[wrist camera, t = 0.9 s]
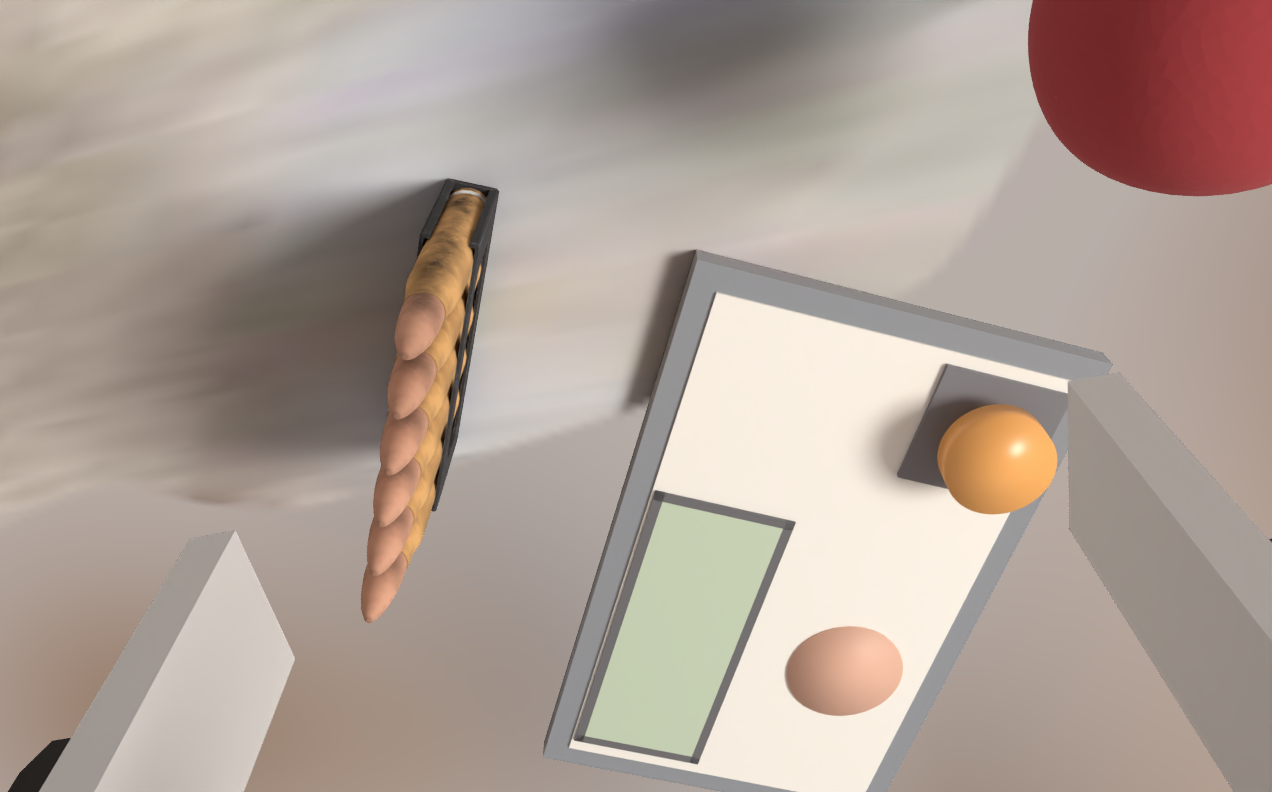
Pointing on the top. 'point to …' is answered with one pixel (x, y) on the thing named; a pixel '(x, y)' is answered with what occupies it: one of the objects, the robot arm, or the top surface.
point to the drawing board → (796, 536)
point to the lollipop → (1159, 89)
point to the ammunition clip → (427, 382)
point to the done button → (996, 459)
